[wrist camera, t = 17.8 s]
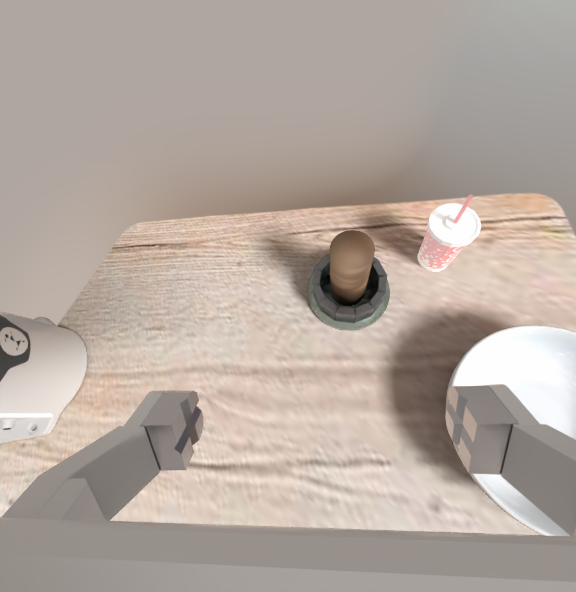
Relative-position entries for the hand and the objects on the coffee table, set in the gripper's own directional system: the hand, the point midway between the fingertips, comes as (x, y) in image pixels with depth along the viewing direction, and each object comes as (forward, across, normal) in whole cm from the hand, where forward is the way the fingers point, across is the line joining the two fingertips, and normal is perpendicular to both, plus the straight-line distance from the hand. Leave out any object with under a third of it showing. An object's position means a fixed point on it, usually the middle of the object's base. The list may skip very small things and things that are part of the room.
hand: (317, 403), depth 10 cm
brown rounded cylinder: (+36, -4, +10) cm, 37 cm away
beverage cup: (+40, -17, +8) cm, 44 cm away
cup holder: (+36, -4, +11) cm, 38 cm away
